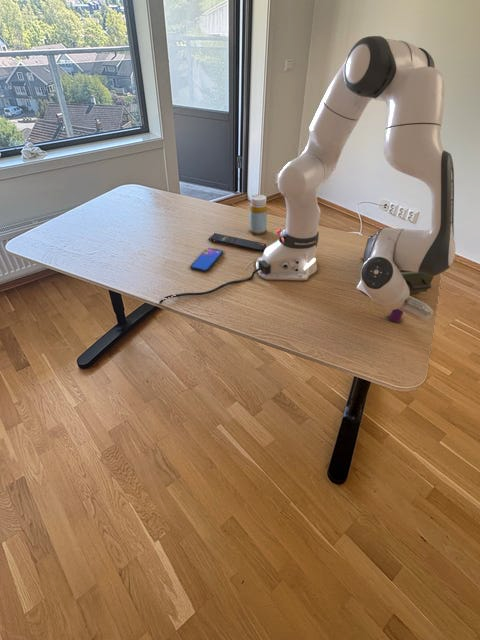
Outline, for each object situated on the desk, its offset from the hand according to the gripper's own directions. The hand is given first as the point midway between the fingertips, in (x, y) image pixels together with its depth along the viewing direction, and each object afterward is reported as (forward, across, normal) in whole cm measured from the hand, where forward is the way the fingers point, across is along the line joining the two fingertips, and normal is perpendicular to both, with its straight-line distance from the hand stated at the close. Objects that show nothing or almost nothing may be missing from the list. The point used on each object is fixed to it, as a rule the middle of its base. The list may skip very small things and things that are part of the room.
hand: (399, 306), depth 101 cm
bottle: (+10, +70, -2) cm, 71 cm away
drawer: (+15, +7, -9) cm, 19 cm away
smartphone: (-12, +66, +19) cm, 69 cm away
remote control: (0, +68, +7) cm, 68 cm away
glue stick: (+4, 0, +4) cm, 5 cm away
